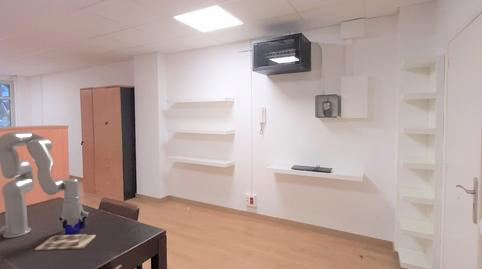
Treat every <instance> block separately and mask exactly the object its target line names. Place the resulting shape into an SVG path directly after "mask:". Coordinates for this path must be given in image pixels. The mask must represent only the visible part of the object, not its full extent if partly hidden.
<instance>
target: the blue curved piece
mask: <svg viewBox="0 0 482 269" xmlns="http://www.w3.org/2000/svg"><path fill="white" fill-rule="evenodd" d="M85 228H86V219H85V220H84V226H83V227H82V228H80V220H79V219H78V222H76V223H75V224H74V226H73V227H72V224H67V225H65V229H64V235H75V233H77V232H79V231H81V230H83V229H85Z"/></svg>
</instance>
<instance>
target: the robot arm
mask: <svg viewBox="0 0 482 269" xmlns="http://www.w3.org/2000/svg"><path fill="white" fill-rule="evenodd" d="M23 146H26V150H27V151H28V153H29V155H30V156H31V158H32V161H33V162H34V164H35V166H36V167H37V171H36V174H37V176H36V178H37V182H38V184H39V186H40V188H41V189H42V192H44V193H45V194H46V195H48V196H54V195H56V194H58V193H60V192H63V196H64V197H63V198H62V199H61V200H62V201H64V202H63V203H62V209H61V212H60V213H58V214H57V218H58V220H60V221H61V223H62V228H63V230H65V225H68V220H69V221H71V220H78V221H79V220H80V228H82V227H83V226H84V220H85V221H86V219H87V218H88V216H89V214H90V213H89V212H87V211H84V209H83V203H82V202H81V200H80V183H79V180H78V178H70V179H69V178H61V177H60V178H58V179H53V177H52V174H51V170H52V168H53V165H54V164H55V160H54V158H53V157H52V155H51V153H50V151H51V150H52V149H53V143H52V141H51V140H50V139H48V138H47V137H43V136H41V135H38V134H36V133H34V132H30V131H26V130H24V131H23V130H22V131H11V132H6V133H4V134H2V135H1V136H0V170H1V175H2V177H3V178H4V179H8V180H9V179H14V178H15V179H14V180H10V181H8V182H6V183H5V184H4V185H2V188H1V195H2V197H3V202H4V213H5V214H4V215H5V216H4V217H5V225H4V226H1V227H0V232H4V233H3V234H2V237H3V238H5V239H6V238H7V239H11V238H17V237H21V236H25V235H27V234H28V233H30V232H31V231H32V228H31V227H30V226H28V212H27V201H26V198H25V196H24V194H26V193H29V192H30V191H32V190H33V189H34V188H35V177H34V172H33V166H32V164H31V163H30V161H27V160H26V159H20V157H19V153H18V151H17V149H16V147H23Z"/></svg>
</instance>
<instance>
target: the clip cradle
mask: <svg viewBox="0 0 482 269" xmlns="http://www.w3.org/2000/svg"><path fill="white" fill-rule="evenodd" d="M96 237H97V235H96V234H85V233H83V234H72V235H65V234H64V235H63V234H62V235H61V234H59V235H57V234H56V235H54V236H51V237H49V238H47V239H46V240H45V241H43V242H42V243H41V244H39V245H38V246H36V247H35V248H34V251H50V250H51V251H52V250H53V251H54V250H74V249H84V248H85V247H86V246H87V245H88V244H89V243H91V241H92V240H93V239H95V238H96Z"/></svg>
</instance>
